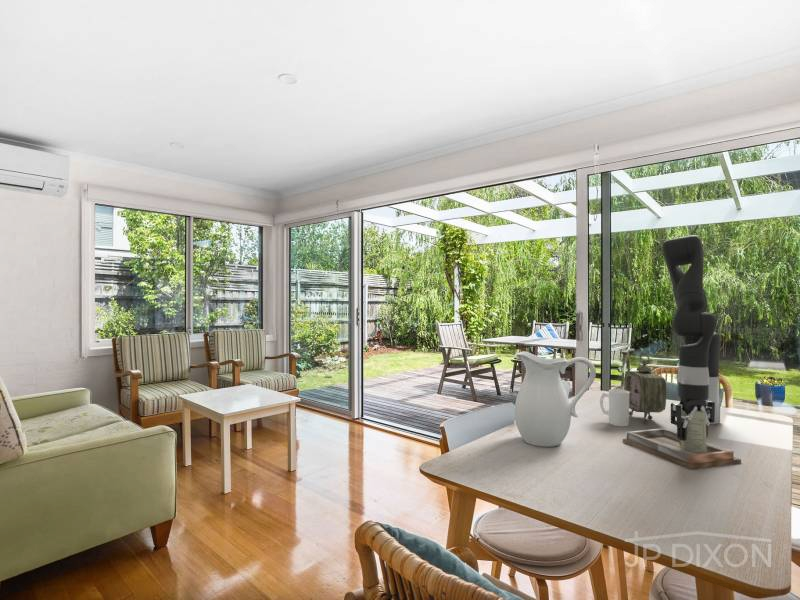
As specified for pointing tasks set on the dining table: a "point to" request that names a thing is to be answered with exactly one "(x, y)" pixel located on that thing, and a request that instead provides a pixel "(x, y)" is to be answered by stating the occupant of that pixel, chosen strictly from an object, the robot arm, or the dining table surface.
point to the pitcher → (546, 399)
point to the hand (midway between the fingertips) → (692, 438)
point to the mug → (617, 407)
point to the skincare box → (695, 433)
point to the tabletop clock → (645, 390)
